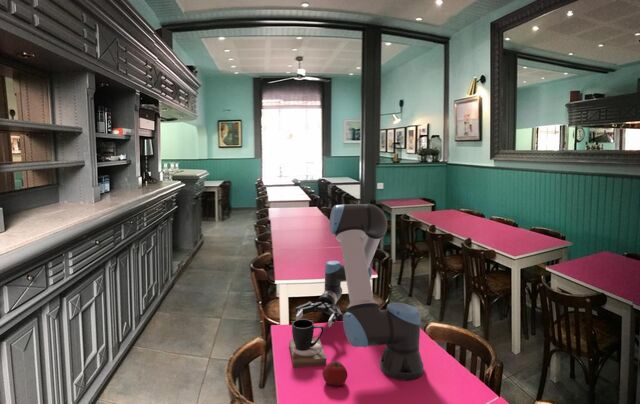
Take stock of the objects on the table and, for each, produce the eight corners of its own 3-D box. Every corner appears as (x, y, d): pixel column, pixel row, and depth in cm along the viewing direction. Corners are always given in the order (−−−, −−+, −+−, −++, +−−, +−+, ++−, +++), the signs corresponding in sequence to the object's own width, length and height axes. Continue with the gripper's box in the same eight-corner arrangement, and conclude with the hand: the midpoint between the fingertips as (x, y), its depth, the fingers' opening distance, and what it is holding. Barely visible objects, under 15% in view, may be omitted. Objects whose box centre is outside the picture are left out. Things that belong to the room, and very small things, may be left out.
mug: (321, 354, 143) (321, 330, 142) (289, 351, 145) (289, 327, 144) (324, 343, 152) (325, 320, 150) (294, 341, 153) (294, 318, 152)
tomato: (335, 373, 137) (335, 354, 136) (351, 383, 131) (352, 363, 130) (318, 382, 131) (318, 362, 130) (334, 393, 125) (335, 372, 124)
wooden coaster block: (326, 364, 142) (326, 357, 142) (293, 367, 140) (293, 360, 140) (319, 343, 158) (319, 336, 157) (289, 345, 156) (289, 338, 155)
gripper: (354, 313, 172) (343, 334, 152) (300, 306, 179) (283, 326, 159) (354, 296, 171) (343, 316, 151) (300, 290, 178) (283, 308, 158)
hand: (312, 321), depth 155 cm, fingers open, 13 cm apart
